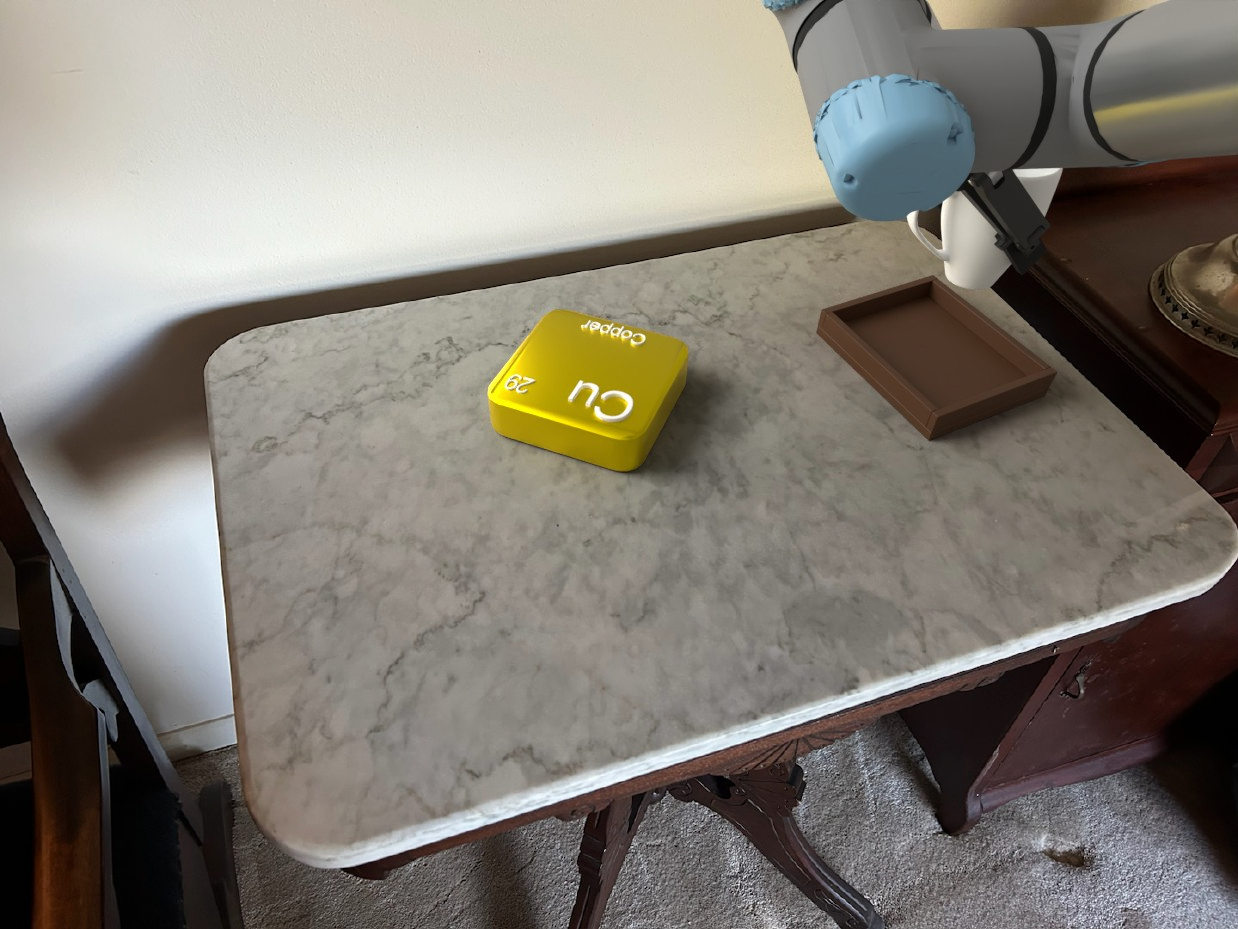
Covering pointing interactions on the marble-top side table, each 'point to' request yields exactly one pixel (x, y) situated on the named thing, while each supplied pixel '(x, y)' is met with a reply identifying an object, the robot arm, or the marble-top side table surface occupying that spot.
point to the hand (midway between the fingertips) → (993, 234)
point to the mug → (980, 232)
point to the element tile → (589, 389)
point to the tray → (934, 355)
